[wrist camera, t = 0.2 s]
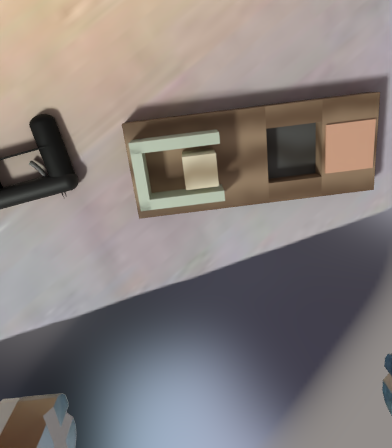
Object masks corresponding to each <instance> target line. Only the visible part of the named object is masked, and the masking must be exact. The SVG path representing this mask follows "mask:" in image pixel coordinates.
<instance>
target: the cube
mask: <svg viewBox="0 0 392 448" xmlns="http://www.w3.org/2000/svg"><path fill="white" fill-rule="evenodd" d="M182 162H183V170H184V178H185V185H186V190H192V189H200V188H208V187H217V186H219V181H218V171H217V160H216V153H215V151H214V149H213V148H208V149H200V150H192V151H184V152H182Z"/></svg>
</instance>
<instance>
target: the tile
mask: <svg viewBox="0 0 392 448" xmlns="http://www.w3.org/2000/svg"><path fill="white" fill-rule="evenodd" d="M375 126H376V119H369V120H361V121H353V122H345V123H337V124H329V125H326V142H325V173H326V174H327V173H335V172H343V171H351V170H359V169H367V168H373V157H374V141H375Z"/></svg>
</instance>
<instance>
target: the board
mask: <svg viewBox="0 0 392 448" xmlns="http://www.w3.org/2000/svg"><path fill="white" fill-rule="evenodd" d="M379 101H380V92H366V93H358V94H350V95H342V96H334V97H326V98H318V99H310V100H302V101H294V102H286V103H278V104H270V105H262V106H254V107H246V108H238V109H230V110H222V111H214V112H206V113H198V114H189V115H181V116H173V117H165V118H157V119H149V120H141V121H133V122H125V123H123V124H122V128H123V133H124V139H125V144H126V150H127V155H128V160H129V166H130V171H131V177H132V182H133V187H134V193H135V198H136V203H137V209H138V214H139V219H140V218H148V217H156V216H164V215H172V214H180V213H188V212H196V211H205V210H213V209H221V208H229V207H237V206H245V205H253V204H261V203H269V202H277V201H286V200H294V199H302V198H310V197H318V196H326V195H334V194H342V193H350V192H358V191H366V190H374V176H375V161H376V146H377V131H378V116H379ZM369 119H376V126H375V141H374V157H373V168H367V169H359V170H351V171H343V172H335V173H327V174H326V173H325V142H326V125H329V124H337V123H345V122H353V121H361V120H369ZM216 129H217V131H218V132H219V138H220V144H213V145H205V146H197V147H189V148H181V149H173V150H165V151H157V152H149V153H145V157H146V163H147V169H148V175H149V181H150V187H151V192H152V193H156V192H164V191H172V190H180V189H186V185H185V178H184V170H183V162H182V152H184V151H192V150H200V149H208V148H213V149H214V151H215V153H216V160H217V171H218V181H219V185H221V184H222V187H223V189H224V193H225V201H220V202H212V203H204V204H196V205H188V206H179V207H171V208H163V209H155V210H147V211H141V209H140V204H139V198H138V193H137V187H136V182H135V177H134V171H133V166H132V160H131V155H130V149H129V144H128V143H129V142H130V141H131V140H135V139H143V138H151V137H159V136H167V135H176V134H184V133H192V132H200V131H208V130H216Z"/></svg>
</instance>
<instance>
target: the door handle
mask: <svg viewBox="0 0 392 448" xmlns="http://www.w3.org/2000/svg"><path fill="white" fill-rule="evenodd" d="M29 125H30V128H31V131H32V133H33V136H34V139H35V141H36V144H37V146H38V148H36V149H33V150H29V151H26V152H22V153H18V154H15V155H11V156H7V157H4V158H0V160H3V159H6V158H10V157H13V156H17V155H21V154H24V153H28V152H31V151H35V150H39V151H40V154H41V156H42V159H43V161H44V164H45V167H46V169H47V172H48V174H49V175H48V176H47V175H46V173H45V172H44V171H43V169H42V168H41V167H40V166H38V165H37V164H36V163H35V162H33V161H30V163H29V165H31V166H33V167H34V168H35V169H36V170H38V171H39V172H40V173H41V175H42V176H43V177H41V178H37V179H34V180H30V181H26V182H23V183H19V184H15V185H12V186H8V187H4V188H3V186H2V184H1V182H0V209H3V208H7V207H11V206H14V205H18V204H22V203H25V202H29V201H33V200H36V199H40V198H44V197H48V196H51V195H55V194H59V193H62V192H64V193H65V192H66V191H70V190H73V189H75V188H76V187H77V185H78V177H77V175H76V174H75V172H74V170H73V167H72V164H71V161H70V159H69V156H68V153H67V151H66V148H65V145H64V143H63V140H62V137H61V134H60V132H59V129H58V126H57V124H56V121H55V119H54V117H52V116H51V115H47V114H41V115H37V116H35V117H34V118H32V119H31V121H30V124H29ZM62 195H63V193H62ZM65 195H66V193H65ZM63 197H64V196H63ZM66 197H67V196H66Z"/></svg>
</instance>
